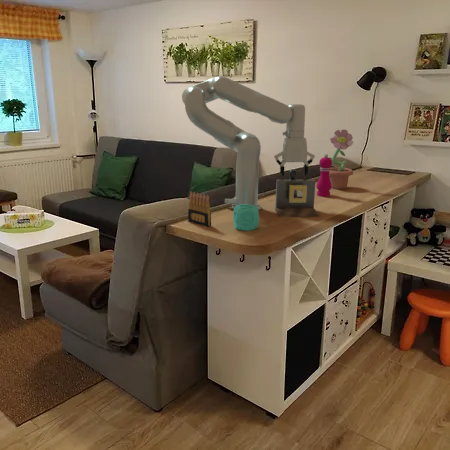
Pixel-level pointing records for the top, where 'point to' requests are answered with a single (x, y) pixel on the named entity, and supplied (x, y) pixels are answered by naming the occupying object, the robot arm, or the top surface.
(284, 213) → the base board
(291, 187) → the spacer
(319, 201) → the top surface
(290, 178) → the shaft
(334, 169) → the decorative flower
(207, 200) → the ammunition clip
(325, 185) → the pepper mill
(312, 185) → the grey rectangular panel
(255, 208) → the decorative dice
